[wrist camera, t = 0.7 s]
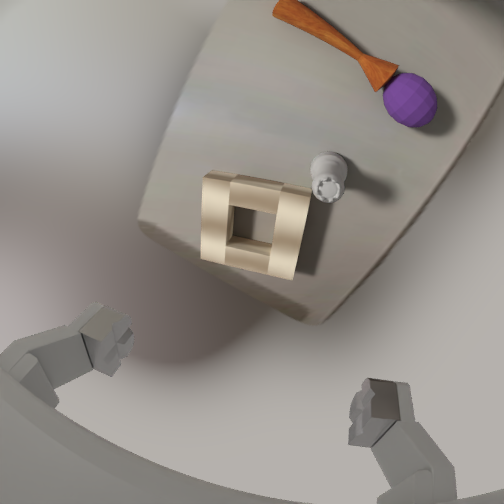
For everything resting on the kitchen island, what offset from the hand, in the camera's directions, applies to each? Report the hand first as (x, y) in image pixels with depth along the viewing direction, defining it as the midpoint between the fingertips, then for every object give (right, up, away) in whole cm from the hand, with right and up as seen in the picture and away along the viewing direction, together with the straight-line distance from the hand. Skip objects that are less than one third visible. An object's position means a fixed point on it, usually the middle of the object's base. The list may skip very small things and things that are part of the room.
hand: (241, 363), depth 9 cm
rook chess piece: (+9, +14, +25) cm, 30 cm away
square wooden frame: (+1, +8, +31) cm, 32 cm away
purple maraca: (+12, +25, +17) cm, 33 cm away
